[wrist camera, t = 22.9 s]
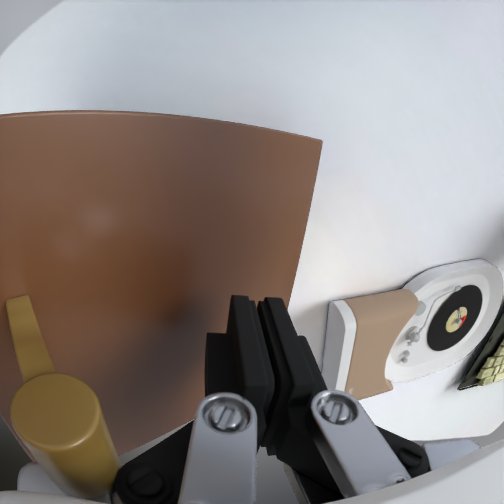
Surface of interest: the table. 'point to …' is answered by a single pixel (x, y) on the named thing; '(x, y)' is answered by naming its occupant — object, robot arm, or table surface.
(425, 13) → the table surface
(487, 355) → the keyboard
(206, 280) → the lid
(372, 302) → the record player
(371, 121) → the table surface
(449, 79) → the table surface
